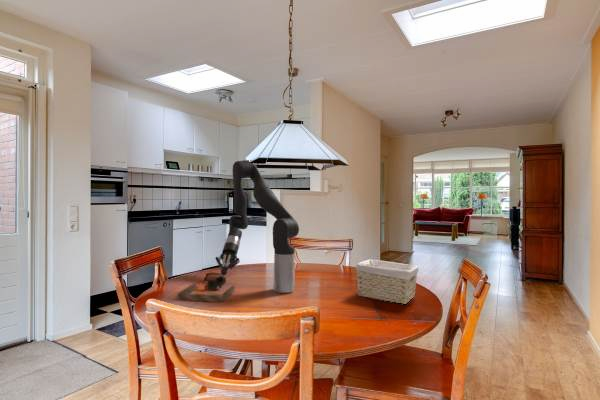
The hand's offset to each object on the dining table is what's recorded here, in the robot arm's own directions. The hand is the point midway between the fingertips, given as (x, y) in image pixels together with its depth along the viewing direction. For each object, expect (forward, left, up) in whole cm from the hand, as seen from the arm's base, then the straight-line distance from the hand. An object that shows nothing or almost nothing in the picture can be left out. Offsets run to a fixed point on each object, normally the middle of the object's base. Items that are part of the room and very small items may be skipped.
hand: (223, 274), depth 167 cm
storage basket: (-77, +7, -5) cm, 78 cm away
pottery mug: (+1, +8, -5) cm, 10 cm away
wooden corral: (0, +20, -4) cm, 20 cm away
